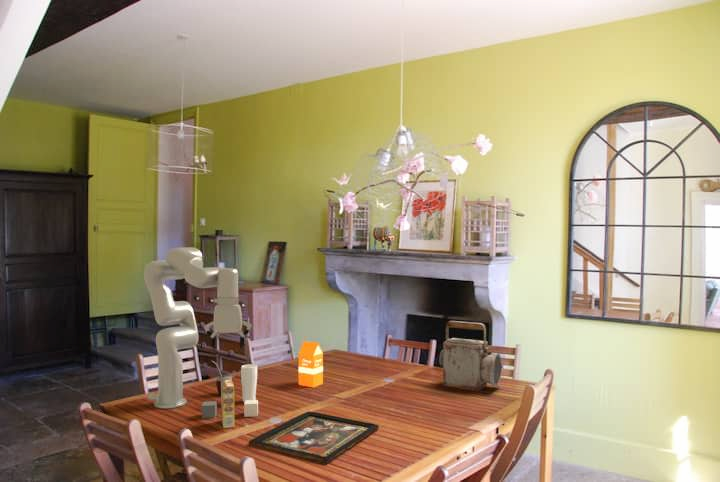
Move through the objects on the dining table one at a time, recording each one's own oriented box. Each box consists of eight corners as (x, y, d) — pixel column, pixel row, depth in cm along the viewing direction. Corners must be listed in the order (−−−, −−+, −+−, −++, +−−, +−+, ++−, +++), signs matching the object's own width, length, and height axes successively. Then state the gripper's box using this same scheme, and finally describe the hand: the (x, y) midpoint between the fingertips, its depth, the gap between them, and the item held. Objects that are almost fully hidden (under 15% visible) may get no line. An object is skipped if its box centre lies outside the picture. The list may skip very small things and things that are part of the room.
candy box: (234, 427, 197) (234, 385, 197) (222, 428, 196) (223, 386, 196) (231, 419, 206) (232, 379, 205) (220, 420, 204) (220, 380, 204)
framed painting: (298, 415, 212) (298, 407, 212) (382, 428, 199) (382, 420, 199) (241, 451, 177) (241, 442, 177) (339, 470, 164) (339, 461, 164)
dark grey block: (201, 418, 207) (201, 405, 207) (203, 414, 212) (203, 401, 212) (215, 418, 207) (215, 405, 207) (216, 413, 212) (216, 401, 212)
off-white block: (244, 417, 209) (244, 404, 209) (245, 412, 214) (245, 400, 214) (257, 416, 210) (257, 403, 210) (258, 412, 215) (258, 399, 214)
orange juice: (313, 387, 250) (313, 344, 250) (298, 384, 255) (298, 342, 255) (323, 383, 257) (323, 341, 257) (308, 381, 261) (308, 339, 261)
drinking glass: (253, 404, 224) (253, 368, 224) (238, 403, 226) (238, 367, 226) (259, 399, 231) (259, 364, 231) (244, 398, 232) (244, 363, 232)
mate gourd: (235, 394, 239) (235, 360, 239) (219, 397, 233) (219, 363, 233) (226, 390, 244) (226, 357, 244) (211, 394, 239) (211, 360, 238)
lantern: (493, 394, 240) (493, 326, 240) (436, 385, 254) (436, 321, 254) (502, 385, 254) (503, 322, 254) (448, 378, 268) (448, 317, 267)
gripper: (202, 303, 195) (202, 350, 195) (251, 302, 198) (251, 349, 198) (205, 301, 203) (205, 346, 203) (252, 300, 205) (252, 345, 205)
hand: (228, 347), depth 200 cm, fingers open, 9 cm apart
